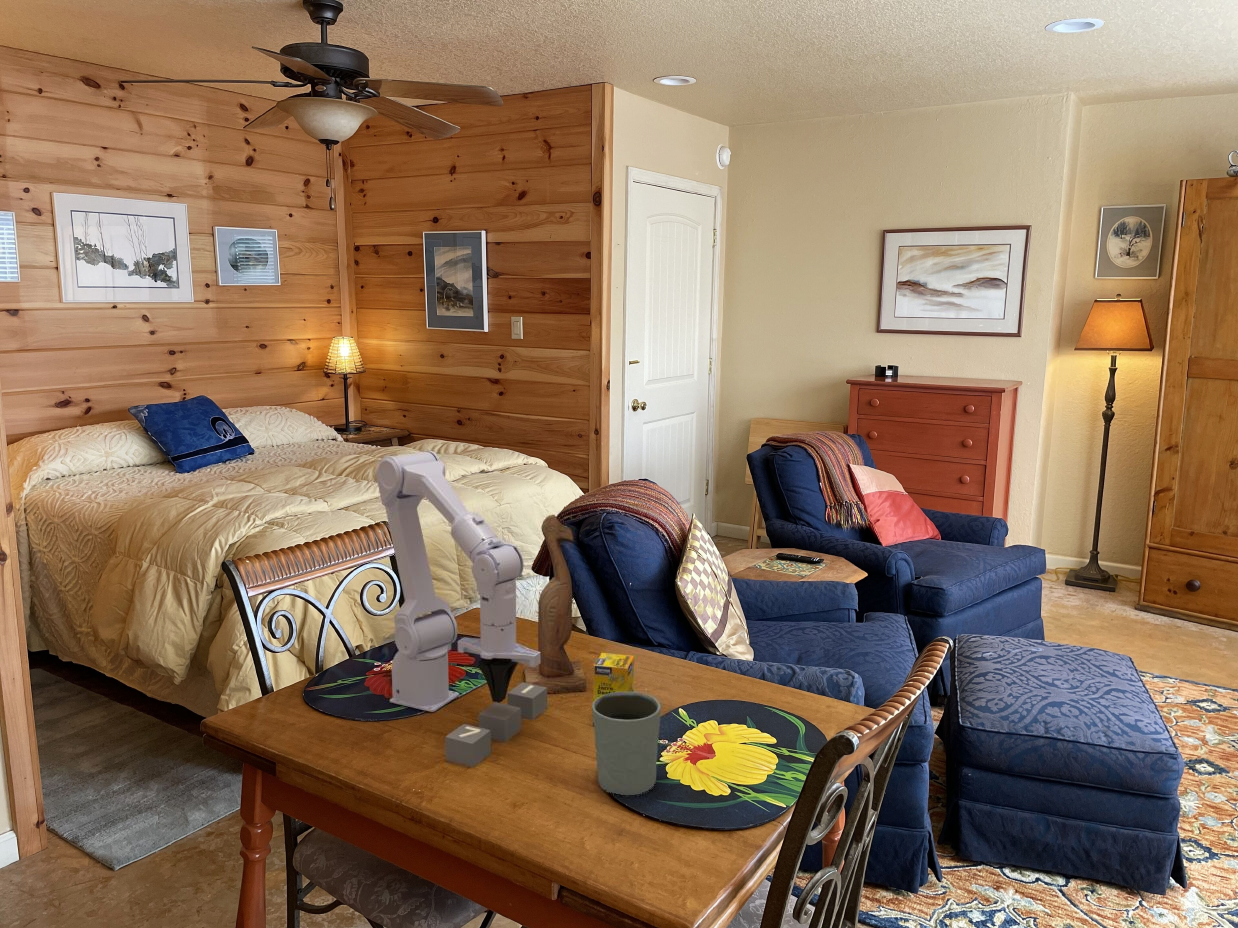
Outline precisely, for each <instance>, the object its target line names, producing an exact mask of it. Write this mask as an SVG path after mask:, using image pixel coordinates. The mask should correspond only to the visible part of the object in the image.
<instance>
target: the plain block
mask: <svg viewBox="0 0 1238 928" xmlns="http://www.w3.org/2000/svg"><path fill="white" fill-rule="evenodd" d="M478 727H479V728H483V729H488V730H491V741H498V742H501V743H507V742H508V741H509V740H511V739H512V738H513V737H515V735H517V734H518V733H519V732H520V731H522V717H521V708H519V707H515V706H510V705H507V704H505V703H501V702H500V703H497V702H493V703H492V704H491V705H489V706H488V707H487V708H485V709H483V710H482V711H481V712H479V713H478Z"/></svg>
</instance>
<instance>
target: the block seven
mask: <svg viewBox="0 0 1238 928" xmlns="http://www.w3.org/2000/svg"><path fill="white" fill-rule="evenodd" d="M444 738H445V739H444V741H445V761H447V762H451V763H453V764H459V765H463V766H466V767H469V768H474V767H475V766H477V765H478V764H479V763H481V762H482V761H483V760H484V759H486V758H487V757H488V756H490V755H491V754H492V739H491V730H488V729H483V728H479V726H474V725H471V724H468V723H467V724H466V723H463V724H462V725H460V726H458V727H457V728H456V729H455V730H453V731H452V732H450V733H449V734H447V735H446V736H445V737H444Z"/></svg>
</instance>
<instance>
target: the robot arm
mask: <svg viewBox="0 0 1238 928" xmlns="http://www.w3.org/2000/svg"><path fill="white" fill-rule="evenodd" d="M375 476H376V480H377V486H378V491H379V496H380V499H381V500H380V501H381V504H382V506H384V508H385V513H386V518H387V523H388V527H389V531H390V537H391V542H392V546H393V552H394V555H395V560H396V565H397V570H398V575H399V579H400V583H401V584H400V585H401V588H402V593H403V597H404V598H403V599H404V602H403V604H402V605H401V607H399V609H398V610H397V612H396V613H395V614H394V616H393V621H394V627H395V628H394V642H395V645H396V648H397V650H398V651H397V652H396V653H395V655H394V657H393V659H392V663H391V681H392V683H391V685H392V686H391V688H392V691H391V692H392V697H391V698H390V699H389V703H391V704H392V703H393V704H396V705H400V706H404V707H405V706H406V707H410V708H413V709H418V710H422V711H427V712H429V713H434V712H436V711H437V710H439V709H440V708H442V707H444V706H446V705H447V704H448V703H450V702H451V701H452V700H454V699H456V698H458V697H459V696H460V693H459V692H457V691H452V690H449V689H450V687H449V654H448V652H449V651H450V650H452V644H453V643H454V642H456V640H457V636H458V623H457V620H456V619H455V617H454V615H453V613H452V610H451V608H450V604H449V602H448V601H446V600H445V599H443V598H441V597H440V596H438V595H437V594H436V591H435V586H434V581H433V577H432V573H431V568H430V563H429V559H428V554H427V549H426V544H425V540H424V535H423V531H422V530H423V529H422V525H421V521H420V516H419V513H418V511H419V510H418V507H419V506H420V504H421V502H422V500H423V499H425V498H426V499H427V500H428V502H429V503H430V504H431V505H432V506H433V507H434V508H435V509H436V510H437V511H438V513H440V514H441V515H442V517H443V518H445V520H446V521H448V523H450V525H451V528H450V536H451V538H452V539H453V540H454V541H455V542H456V543H457V544H456V545H458V547H459V548H460V549H461V550H462V552H463V553H464V555H466V556H467V558H468V559H469V561H470V562H471V563H472V565H471V566H470V567H471V573H472V577H473V578H474V581H475V585H476V592H477V595H479V613H480V614H479V616H480V619H479V621H480V627H479V628H480V638H475V637H474V638H472V637H466V636H465V637H463V638H461V639H459V640H457V652H458V653H460V654H461V653H463V654H464V653H466V652H467V653H471V654H476V655H480V660H479V661H477V668H478V669H479V671H480V672H481V674H482V676H483V677H484V679H485V681H486V683H487V686H488V690H489V693H490V698H491V700H492V702H493V703H495V702H497V703H501V702H503V701H504V700H506V698H507V693H508V690H509V689H508V688H509V685H510V682H511V679H512V676H513V674H514V672H515V670H516V668H517V666H518V665H519V663H520V664H529V666H530V667H536V666H537V665H539V664H540V663H541V652H538V650H534V649H531V648H528V647H526V646H525V645H522V644H519V643H517V579H518V578H520V577H521V576H522V574H523V571H524V568H525V567H524V565H525V564H524V559H523V555H522V553H521V552H520V550H519V549H518V547H517V546H516V545H515V544H513V543H508V542H506V540H503V539H500V538H499V536H498V535H497V534H496V533H495V531H494V530H492V528H491V527H490V526H489V524H488V523H487V522H486V520H485V518H484V517H483V516H482V515H481V514H479V513H477V512H469V511H468V509H467V508H466V506H465V505H464V503H463V502H462V501H461V499H460V497H459V496H458V494H457V493H456V491H455V490H454V488H453V487H452V486H451V484H450V483H449V481H448V479H447V478H446V465H445V463H444V462H443V461H441V459H440V457H439V455H438V454H437V453H436V452H435V451H433V450H424V451H423V452H421V451H420V452H416V453H415V452H414V453H407V454H402V455H401V454H400V455H394V456H392V455H387V456H385V457H383V458H382V459H381V460H380V462H379V464H378V467H377V469H376V472H375ZM425 614H426V615H425Z"/></svg>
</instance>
